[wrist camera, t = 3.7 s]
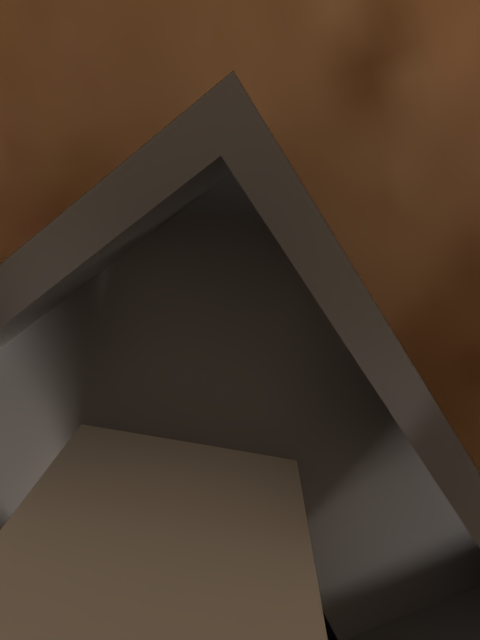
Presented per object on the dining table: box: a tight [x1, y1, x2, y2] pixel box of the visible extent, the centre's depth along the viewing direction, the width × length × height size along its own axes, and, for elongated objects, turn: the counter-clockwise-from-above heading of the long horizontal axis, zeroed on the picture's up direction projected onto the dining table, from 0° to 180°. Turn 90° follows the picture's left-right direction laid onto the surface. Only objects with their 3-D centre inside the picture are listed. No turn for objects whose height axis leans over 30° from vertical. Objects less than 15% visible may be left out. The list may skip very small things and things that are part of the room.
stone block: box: [0, 424, 328, 640], centre depth 7 cm, size 5×5×5 cm
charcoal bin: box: [0, 71, 480, 640], centre depth 8 cm, size 13×13×4 cm
